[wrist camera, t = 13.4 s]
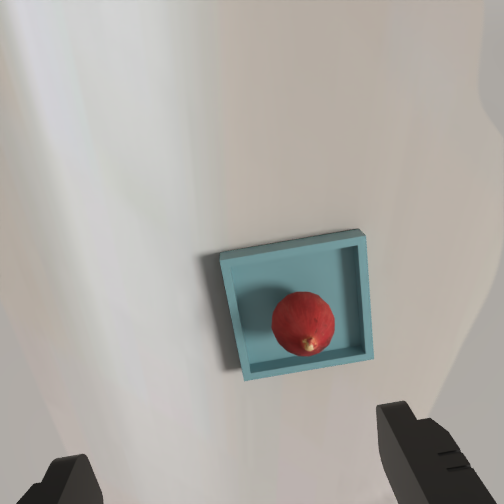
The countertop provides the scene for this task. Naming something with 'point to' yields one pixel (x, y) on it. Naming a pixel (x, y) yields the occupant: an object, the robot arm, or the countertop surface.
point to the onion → (303, 323)
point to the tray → (299, 280)
